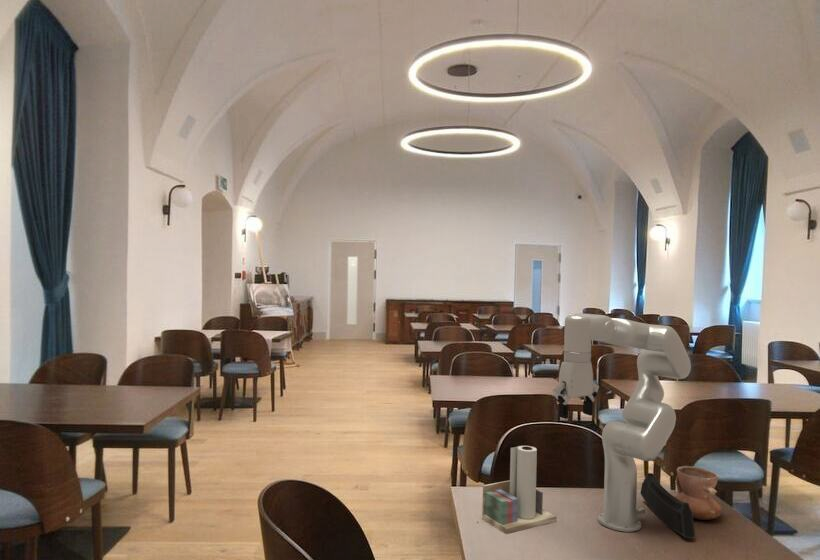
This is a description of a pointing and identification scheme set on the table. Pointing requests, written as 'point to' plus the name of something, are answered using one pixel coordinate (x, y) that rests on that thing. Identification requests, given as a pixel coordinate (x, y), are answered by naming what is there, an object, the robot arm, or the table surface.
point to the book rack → (510, 509)
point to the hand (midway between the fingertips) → (575, 416)
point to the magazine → (668, 507)
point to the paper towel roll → (524, 479)
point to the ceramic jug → (698, 491)
